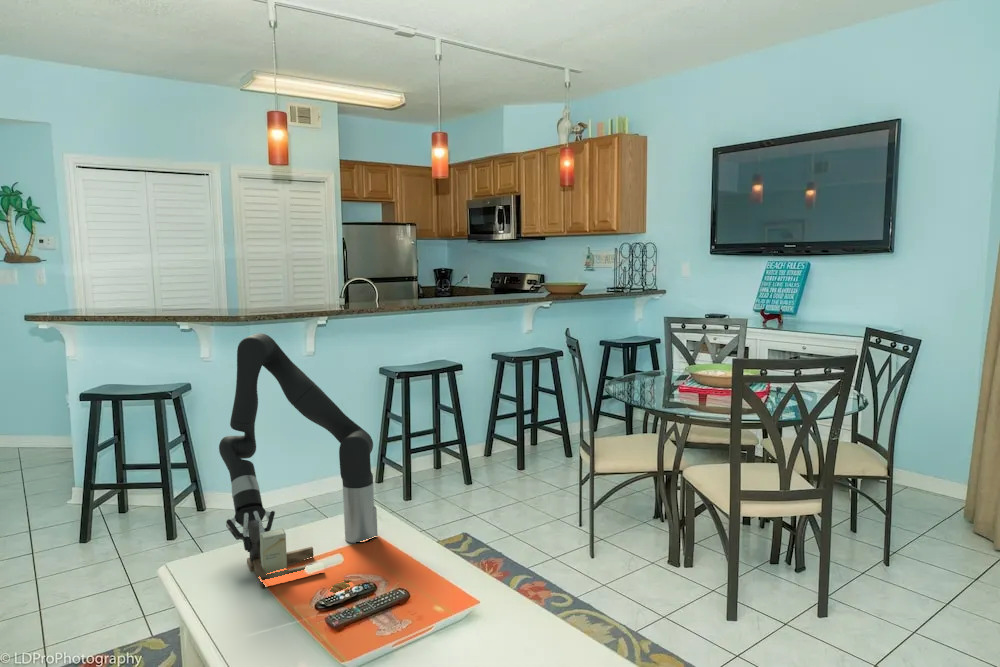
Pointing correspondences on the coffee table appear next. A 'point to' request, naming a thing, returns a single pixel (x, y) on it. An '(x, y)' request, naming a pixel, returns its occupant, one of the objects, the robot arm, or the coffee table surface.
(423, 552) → the coffee table surface
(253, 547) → the brown frame
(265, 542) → the skincare box
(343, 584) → the pastry
